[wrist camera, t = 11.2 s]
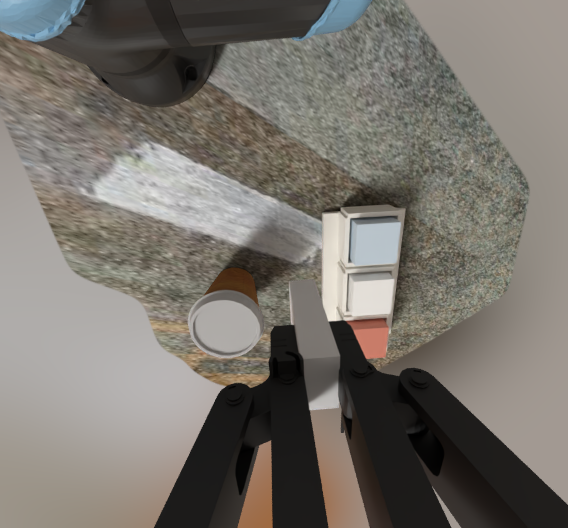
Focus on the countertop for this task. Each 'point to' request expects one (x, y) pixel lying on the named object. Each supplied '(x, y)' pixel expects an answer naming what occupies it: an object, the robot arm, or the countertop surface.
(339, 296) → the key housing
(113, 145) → the countertop surface
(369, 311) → the white key
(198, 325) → the disposable coffee cup
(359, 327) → the brick-red key
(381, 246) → the pale blue key
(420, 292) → the countertop surface
